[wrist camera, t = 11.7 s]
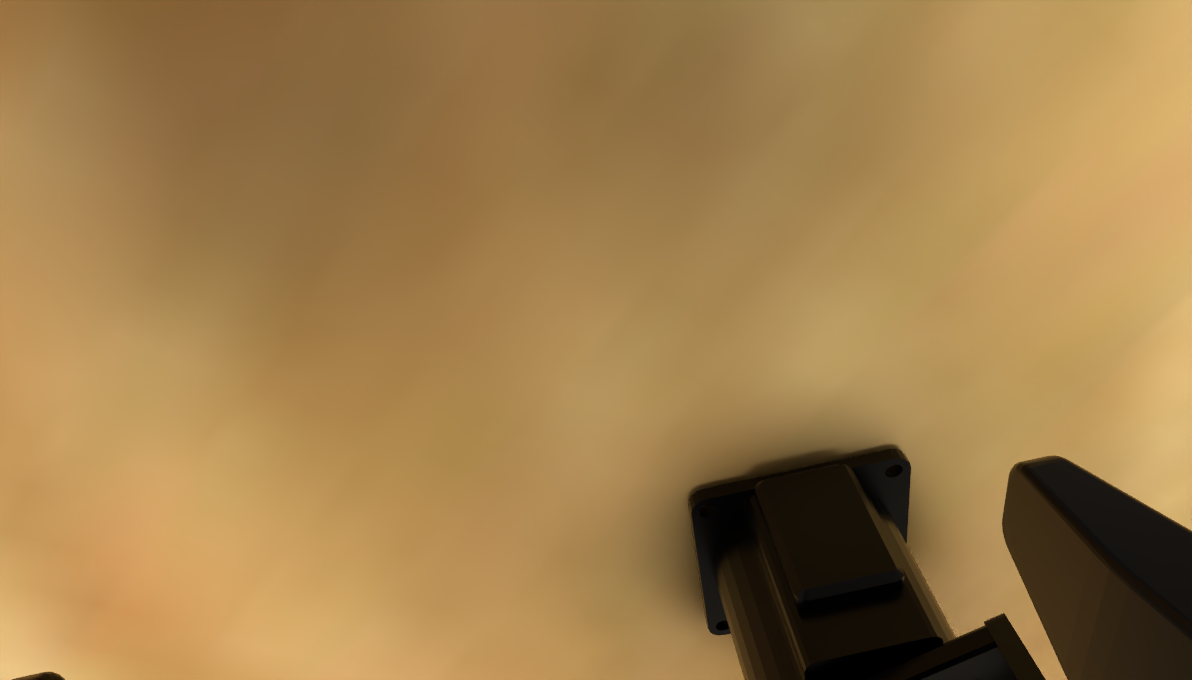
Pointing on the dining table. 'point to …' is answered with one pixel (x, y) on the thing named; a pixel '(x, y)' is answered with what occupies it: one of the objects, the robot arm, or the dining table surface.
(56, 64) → the dining table surface
